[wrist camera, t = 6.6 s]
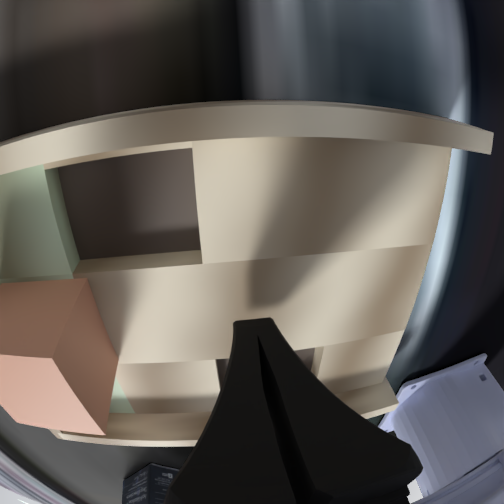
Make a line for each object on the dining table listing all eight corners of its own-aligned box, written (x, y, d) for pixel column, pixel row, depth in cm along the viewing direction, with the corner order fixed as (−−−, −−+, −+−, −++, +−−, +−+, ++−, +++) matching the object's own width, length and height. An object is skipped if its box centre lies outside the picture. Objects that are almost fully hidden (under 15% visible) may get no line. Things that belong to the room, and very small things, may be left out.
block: (87, 277, 10) (52, 358, 7) (118, 359, 13) (105, 435, 9) (1, 283, 10) (-42, 348, 6) (40, 357, 12) (16, 422, 9)
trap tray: (442, 117, 10) (493, 132, 8) (377, 374, 18) (394, 410, 16) (-40, 157, 8) (-85, 181, 5) (66, 400, 16) (57, 438, 13)
